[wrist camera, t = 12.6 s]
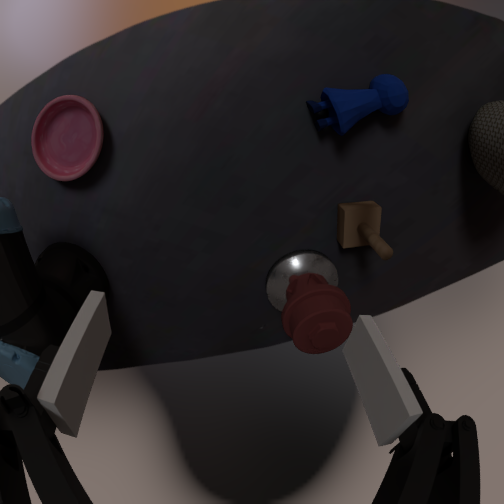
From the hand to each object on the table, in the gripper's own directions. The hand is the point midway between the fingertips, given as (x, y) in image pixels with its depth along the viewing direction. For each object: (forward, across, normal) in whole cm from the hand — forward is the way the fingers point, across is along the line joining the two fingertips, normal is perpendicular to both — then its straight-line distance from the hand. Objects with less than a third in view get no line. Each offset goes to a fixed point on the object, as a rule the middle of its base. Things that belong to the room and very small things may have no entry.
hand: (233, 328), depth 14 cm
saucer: (+29, -24, +5) cm, 38 cm away
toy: (+29, +16, +15) cm, 36 cm away
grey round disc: (+29, +14, -15) cm, 35 cm away
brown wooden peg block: (+29, +20, -3) cm, 35 cm away
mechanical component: (+27, +14, -15) cm, 34 cm away
